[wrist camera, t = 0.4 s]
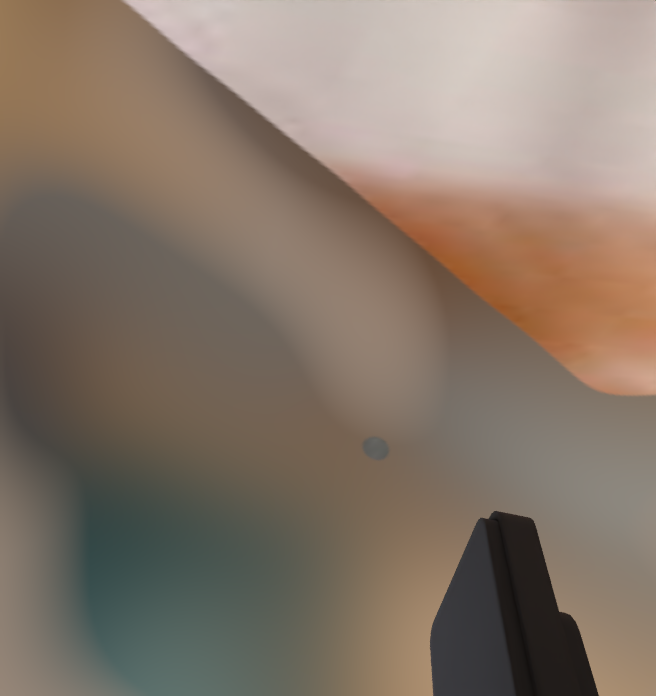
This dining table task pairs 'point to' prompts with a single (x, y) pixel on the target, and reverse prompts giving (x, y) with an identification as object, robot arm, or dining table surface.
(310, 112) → the dining table surface
